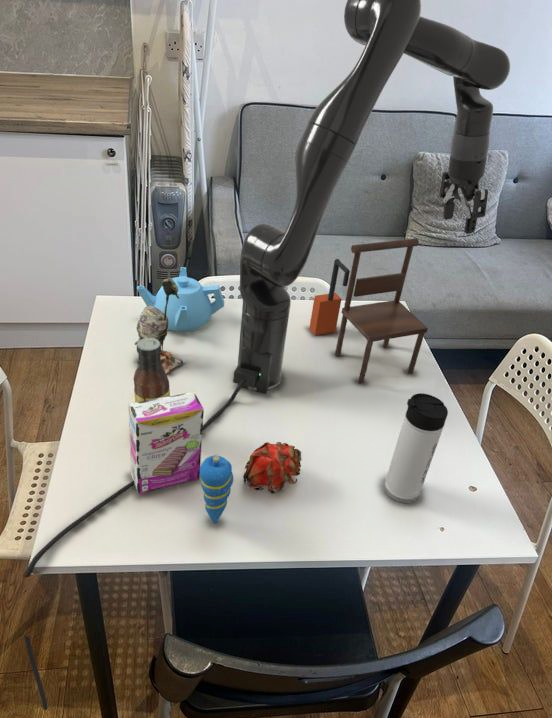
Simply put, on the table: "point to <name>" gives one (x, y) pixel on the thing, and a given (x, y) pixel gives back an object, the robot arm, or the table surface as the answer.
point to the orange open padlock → (328, 305)
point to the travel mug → (415, 447)
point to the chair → (380, 306)
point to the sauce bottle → (150, 372)
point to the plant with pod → (159, 326)
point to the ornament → (216, 485)
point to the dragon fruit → (272, 466)
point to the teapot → (185, 303)
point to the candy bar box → (165, 441)
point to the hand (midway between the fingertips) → (458, 225)
